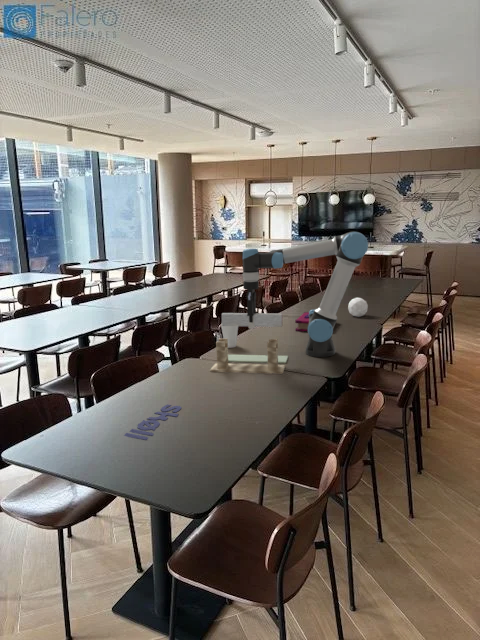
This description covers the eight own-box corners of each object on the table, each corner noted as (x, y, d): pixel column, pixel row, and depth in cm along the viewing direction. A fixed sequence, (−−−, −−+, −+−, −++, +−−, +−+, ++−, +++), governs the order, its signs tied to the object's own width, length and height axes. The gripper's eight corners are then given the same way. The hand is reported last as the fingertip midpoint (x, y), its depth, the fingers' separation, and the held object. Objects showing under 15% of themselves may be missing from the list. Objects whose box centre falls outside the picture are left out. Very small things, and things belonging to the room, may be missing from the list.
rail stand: (284, 367, 225) (284, 338, 222) (282, 373, 216) (282, 344, 213) (215, 365, 232) (214, 337, 229) (210, 371, 222) (208, 342, 219)
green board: (288, 357, 241) (287, 355, 240) (286, 363, 231) (286, 361, 231) (222, 355, 247) (222, 354, 247) (218, 361, 238) (218, 360, 238)
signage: (166, 403, 184) (188, 406, 180) (166, 405, 184) (188, 408, 181) (121, 434, 159) (146, 439, 155) (121, 436, 159) (146, 441, 155)
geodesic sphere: (343, 306, 340) (347, 292, 330) (362, 305, 341) (366, 291, 331) (348, 321, 331) (353, 308, 320) (367, 320, 332) (372, 306, 322)
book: (335, 323, 314) (336, 312, 312) (328, 333, 288) (328, 321, 287) (304, 322, 321) (304, 311, 319) (294, 331, 295) (294, 319, 294)
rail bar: (282, 325, 234) (282, 313, 233) (281, 326, 231) (281, 314, 230) (223, 324, 240) (222, 312, 239) (221, 325, 237) (221, 314, 236)
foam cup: (236, 348, 260) (236, 325, 257) (220, 348, 262) (219, 325, 259) (240, 344, 269) (239, 321, 266) (224, 343, 271) (223, 321, 268)
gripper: (246, 278, 239) (247, 324, 244) (240, 283, 224) (241, 331, 229) (261, 278, 238) (262, 324, 243) (255, 282, 222) (257, 331, 227)
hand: (252, 327), depth 236 cm, fingers closed on rail bar, 3 cm apart
